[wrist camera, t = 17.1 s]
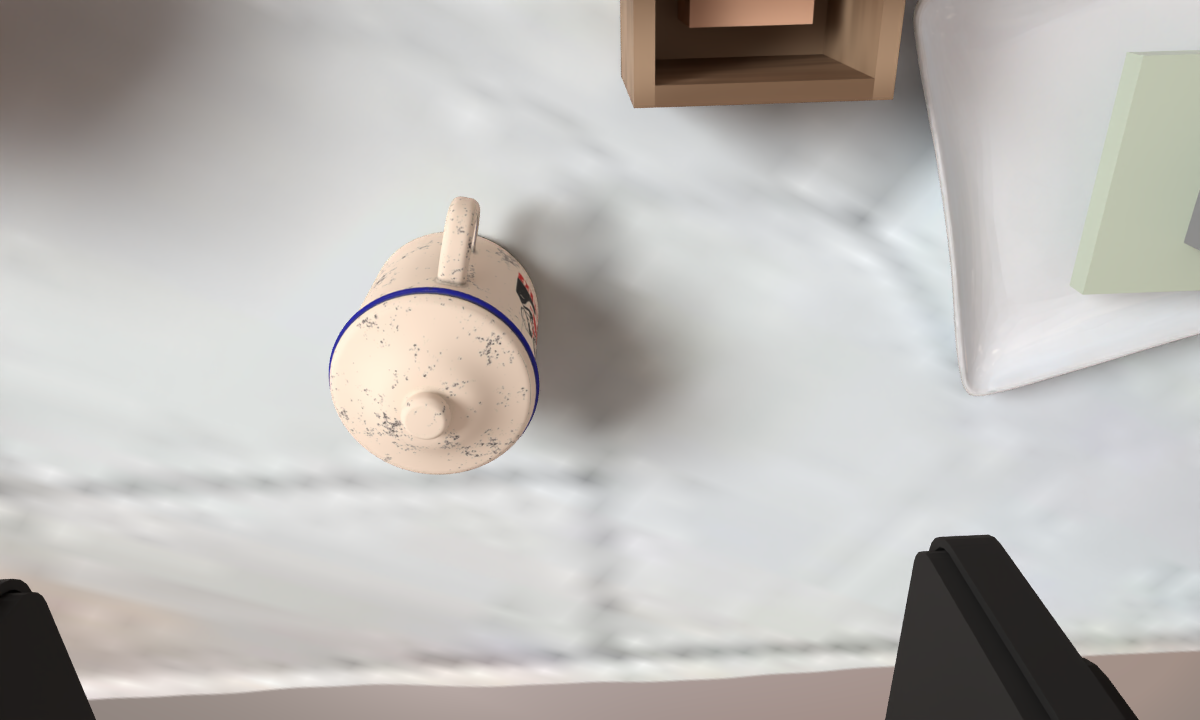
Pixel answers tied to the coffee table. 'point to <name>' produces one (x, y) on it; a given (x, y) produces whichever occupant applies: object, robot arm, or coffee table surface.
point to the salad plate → (1036, 177)
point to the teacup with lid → (441, 352)
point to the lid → (1147, 183)
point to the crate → (759, 51)
